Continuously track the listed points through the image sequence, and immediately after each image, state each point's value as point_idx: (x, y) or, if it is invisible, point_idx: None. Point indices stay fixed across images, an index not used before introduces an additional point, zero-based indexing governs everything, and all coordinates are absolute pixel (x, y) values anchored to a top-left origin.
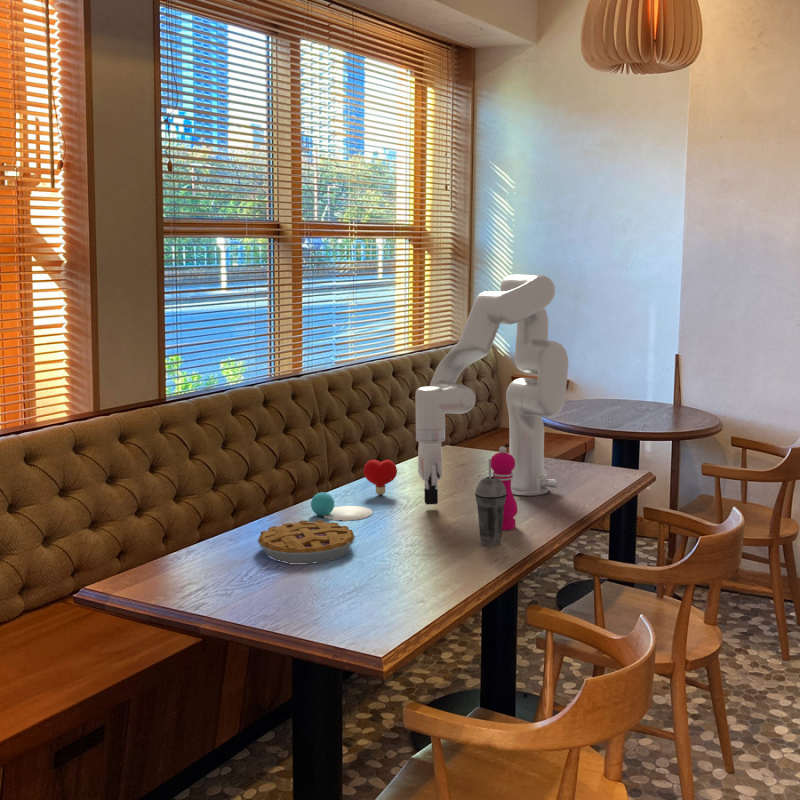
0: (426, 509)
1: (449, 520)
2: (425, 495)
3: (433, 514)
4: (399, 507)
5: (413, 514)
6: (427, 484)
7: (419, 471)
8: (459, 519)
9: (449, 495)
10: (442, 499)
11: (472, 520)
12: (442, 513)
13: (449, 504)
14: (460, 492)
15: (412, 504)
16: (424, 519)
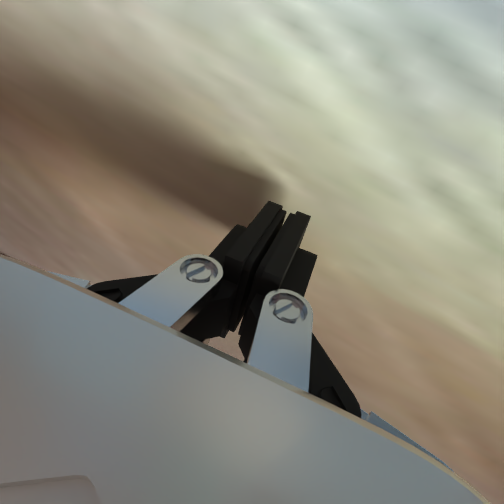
0: (296, 196)
1: (84, 192)
2: (251, 229)
3: (186, 178)
4: (494, 7)
5: (223, 53)
6: (147, 286)
7: (219, 450)
8: (95, 234)
9: (479, 430)
10: (435, 370)
11: (81, 263)
12: (190, 226)
13: (321, 335)
14: (483, 478)
15: (484, 175)
16: (107, 78)
